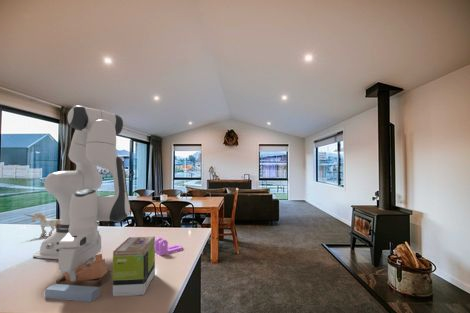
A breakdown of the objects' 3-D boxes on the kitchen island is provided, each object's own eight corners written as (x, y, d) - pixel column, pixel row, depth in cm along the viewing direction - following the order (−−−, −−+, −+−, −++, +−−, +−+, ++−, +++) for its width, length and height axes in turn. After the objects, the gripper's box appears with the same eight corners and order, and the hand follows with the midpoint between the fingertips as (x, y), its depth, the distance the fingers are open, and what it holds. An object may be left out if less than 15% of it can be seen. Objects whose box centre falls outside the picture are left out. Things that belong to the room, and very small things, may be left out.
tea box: (128, 275, 91) (129, 236, 91) (155, 274, 92) (156, 235, 92) (111, 297, 76) (112, 249, 76) (143, 296, 77) (144, 249, 77)
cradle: (55, 287, 82) (56, 281, 82) (70, 276, 89) (70, 271, 89) (100, 286, 83) (100, 280, 83) (110, 276, 90) (110, 270, 90)
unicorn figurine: (31, 234, 143) (32, 212, 144) (67, 233, 147) (67, 211, 147) (22, 238, 136) (23, 214, 137) (60, 236, 140) (61, 213, 140)
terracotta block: (66, 284, 84) (63, 262, 84) (73, 278, 88) (70, 258, 88) (101, 277, 85) (98, 256, 85) (106, 272, 89) (103, 252, 89)
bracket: (160, 256, 111) (160, 240, 111) (154, 252, 115) (155, 238, 115) (184, 249, 120) (184, 235, 120) (179, 246, 124) (179, 233, 124)
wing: (44, 298, 75) (45, 289, 75) (54, 293, 79) (54, 283, 79) (91, 303, 73) (91, 293, 73) (99, 296, 76) (99, 287, 77)
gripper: (90, 227, 97) (89, 262, 96) (54, 244, 76) (53, 288, 76) (106, 227, 97) (105, 262, 97) (75, 244, 77) (73, 288, 76)
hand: (82, 274), depth 86 cm, fingers open, 8 cm apart
